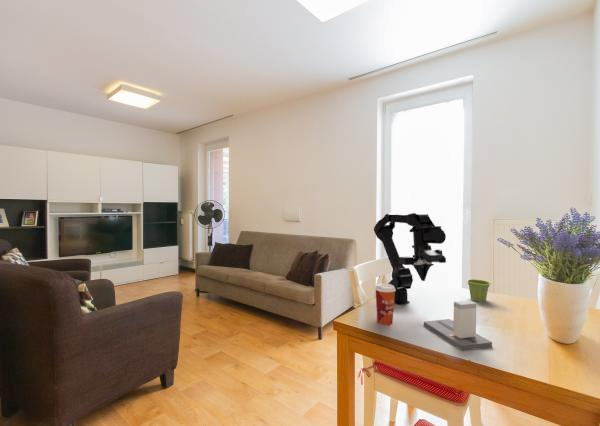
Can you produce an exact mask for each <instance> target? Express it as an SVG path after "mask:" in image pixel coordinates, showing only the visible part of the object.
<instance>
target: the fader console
mask: <svg viewBox="0 0 600 426" xmlns="http://www.w3.org/2000/svg"><path fill="white" fill-rule="evenodd" d="M453 324H454V320H452V319H450V318H447V319H446V318H445V319H434V320H426V321H425V320H424V321H423V327H426V328H427V329H428V330H429V331H431V332H432V333H435V334H436V335H437V336H439V337H441V338H442V339H443V340H446V342H449V344H451V345H453V346H454V347H456V348H457V349H458V350H460V351H463V352H464V351H468V350H469V351H470V350H478V349H486V348H492V347H493V341H491V340H489V339H487V338H486V337H483V336H481V335H480V334H478V333H476V337H469V338H458V337H457V336H455V335H453Z"/></svg>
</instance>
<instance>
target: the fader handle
mask: <svg viewBox="0 0 600 426" xmlns="http://www.w3.org/2000/svg"><path fill="white" fill-rule="evenodd" d="M453 321H454V324H453V335H455V336H457V337H458V338H469V337H476V334H477V303H476V302H474V301H473V300H472V301H471V300H461V301H459V300H458V301H453Z"/></svg>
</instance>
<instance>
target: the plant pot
mask: <svg viewBox="0 0 600 426" xmlns="http://www.w3.org/2000/svg"><path fill="white" fill-rule="evenodd" d="M466 281H467V285H468V288H469V295H470V300H472V301H475V302H477V303H479V302H480V303H484V302H486V301H487V296H488V291H489V287H490V285H491V282H490V281H487V280H484V279H483V280H482V279H475V278H474V279H470V278H469V279H467V280H466Z"/></svg>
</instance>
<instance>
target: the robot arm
mask: <svg viewBox="0 0 600 426" xmlns="http://www.w3.org/2000/svg"><path fill="white" fill-rule="evenodd" d="M396 223H400V224H407V225H408V226H411V228H410V229H409V233H412V235H413V245H411V248H412V249H413V254H412V256H400V255H399V253H398V250H397V247H396V245H395V242H394V239H393V235H394V231H393V230H394V229H395V227H396ZM373 232H374V234H375V236H376V238H377V239H378V240H379V241H380V242H382V244H383V248H384V250H385V253H386V256H387V258H388V261H389V264H390V266H391V269H392V271H391V279H390V281H389V282H388V283H387V284H391V285H393V286H394V287H395V289H396V291H395V296H394V304H396V305H405V304H410V301H409V300H408V290H409V289H410V290H411V288H412V284H413V281H414V278H413V274H412V272H411V269H410V268H409V267H405V266H413V267H414V269H415V271H416V273H417V274H418V277H419V279H420V280H421V281H422V282H425V281H426V278H427V275H428V272H429V270H430V268H431V267H432V266H434V263H439V264H442V263H447V258H446V256H445V255H443V250H442V249H435V250H432V246H431V245H429V244H437V245H438V244H440V245H441V244H443V243H445V240H446V238H447V237H446V232H445V231H444V230H443V229H442V226H440V225H435V223H434V222H433V220H432V219H431V217H430V215H429V214H428V213H427V212H413V213H408V214H402V213H401V214H399V213H386V214H384V216H383V217H382V218H381V219H379V220H378V221H377V222H376V224H375V225H374V227H373ZM404 265H405V266H404Z"/></svg>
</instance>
